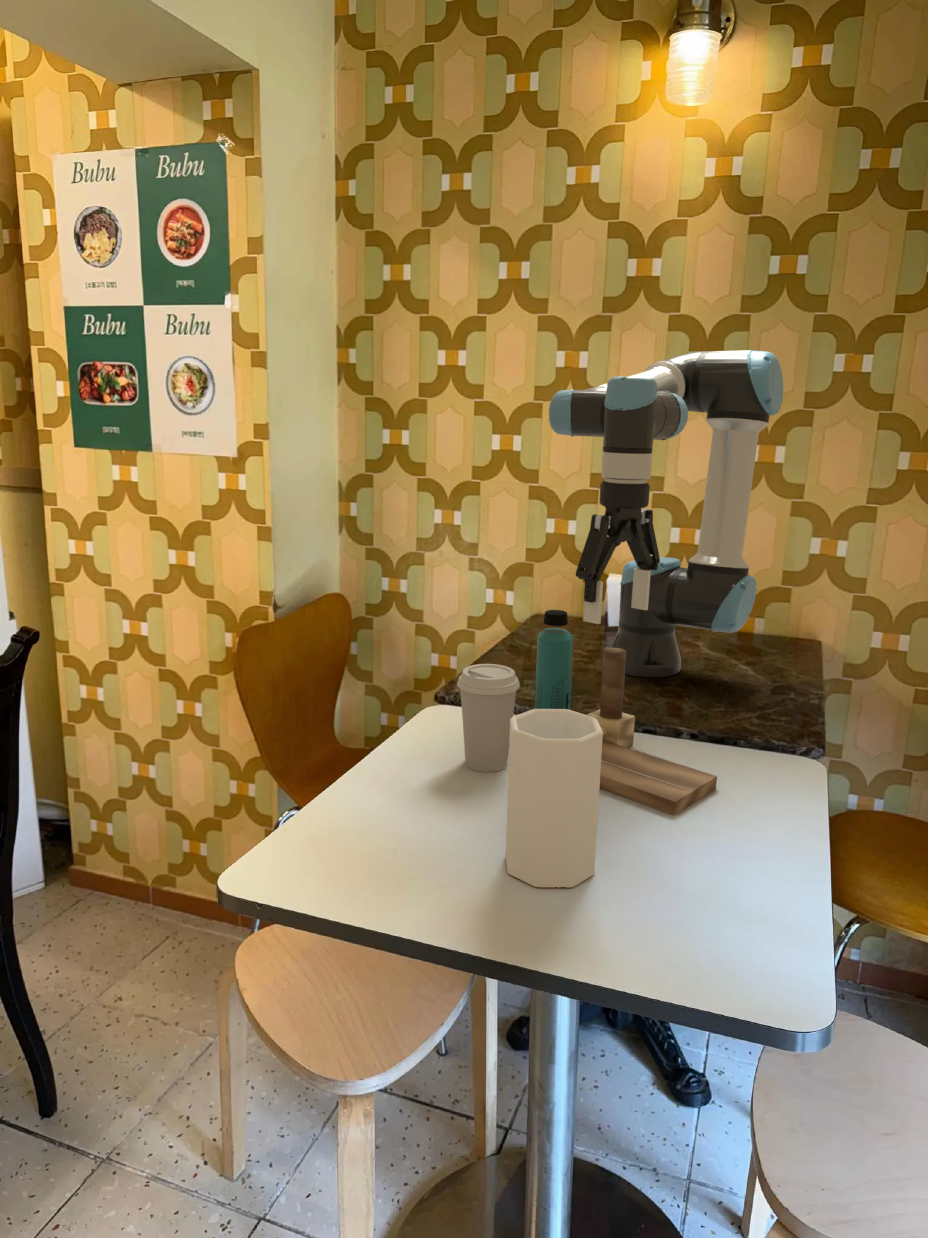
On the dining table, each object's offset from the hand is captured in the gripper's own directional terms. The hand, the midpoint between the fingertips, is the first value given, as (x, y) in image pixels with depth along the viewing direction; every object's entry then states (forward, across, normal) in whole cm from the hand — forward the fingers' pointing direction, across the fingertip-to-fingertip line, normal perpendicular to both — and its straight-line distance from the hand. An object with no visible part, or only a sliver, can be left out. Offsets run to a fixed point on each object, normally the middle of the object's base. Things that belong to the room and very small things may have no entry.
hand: (616, 615), depth 143 cm
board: (+22, +9, +8) cm, 25 cm away
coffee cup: (+22, +20, -9) cm, 31 cm away
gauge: (+22, +5, 0) cm, 22 cm away
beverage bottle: (+22, -2, -13) cm, 26 cm away
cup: (+22, +38, +17) cm, 47 cm away
